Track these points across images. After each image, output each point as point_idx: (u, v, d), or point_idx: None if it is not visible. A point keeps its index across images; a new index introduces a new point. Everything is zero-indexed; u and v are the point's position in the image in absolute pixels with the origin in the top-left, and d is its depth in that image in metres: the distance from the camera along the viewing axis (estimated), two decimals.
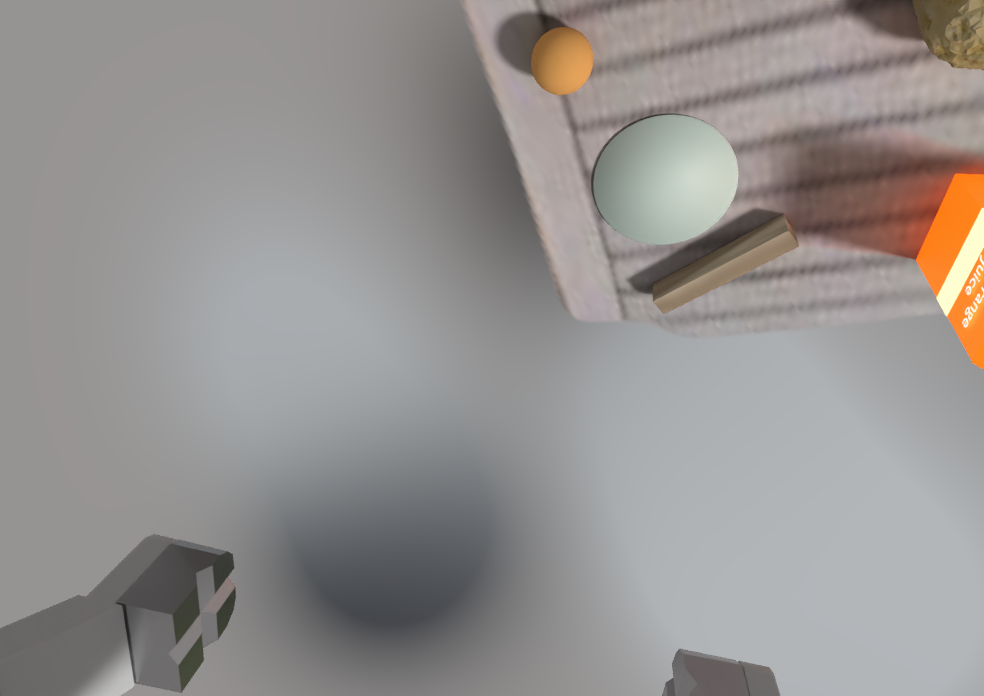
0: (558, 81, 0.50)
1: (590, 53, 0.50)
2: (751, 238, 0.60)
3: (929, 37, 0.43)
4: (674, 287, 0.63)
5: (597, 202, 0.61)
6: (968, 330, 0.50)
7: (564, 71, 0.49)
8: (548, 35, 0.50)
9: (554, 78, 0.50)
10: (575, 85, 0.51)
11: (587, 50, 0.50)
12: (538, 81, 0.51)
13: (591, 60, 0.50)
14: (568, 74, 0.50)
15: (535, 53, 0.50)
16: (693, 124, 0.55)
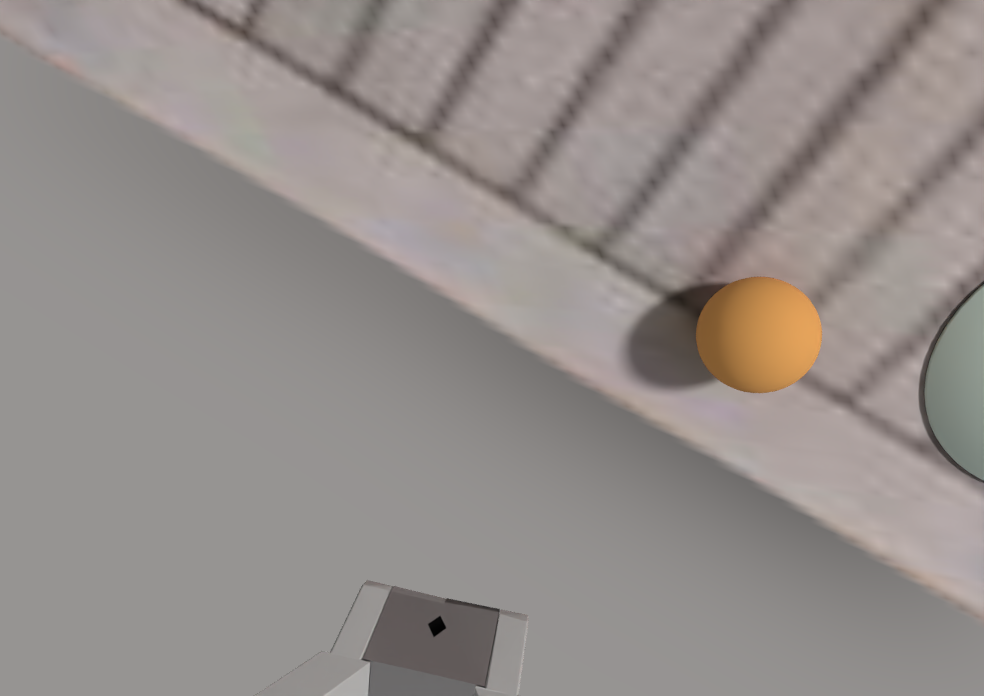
0: (781, 370, 0.25)
1: (796, 292, 0.26)
2: None
3: None
4: None
5: (981, 476, 0.31)
6: None
7: (780, 349, 0.25)
8: (708, 319, 0.27)
9: (770, 371, 0.25)
10: (813, 354, 0.26)
11: (788, 291, 0.26)
12: (744, 390, 0.27)
13: (806, 300, 0.26)
14: (790, 349, 0.25)
15: (709, 356, 0.27)
16: None
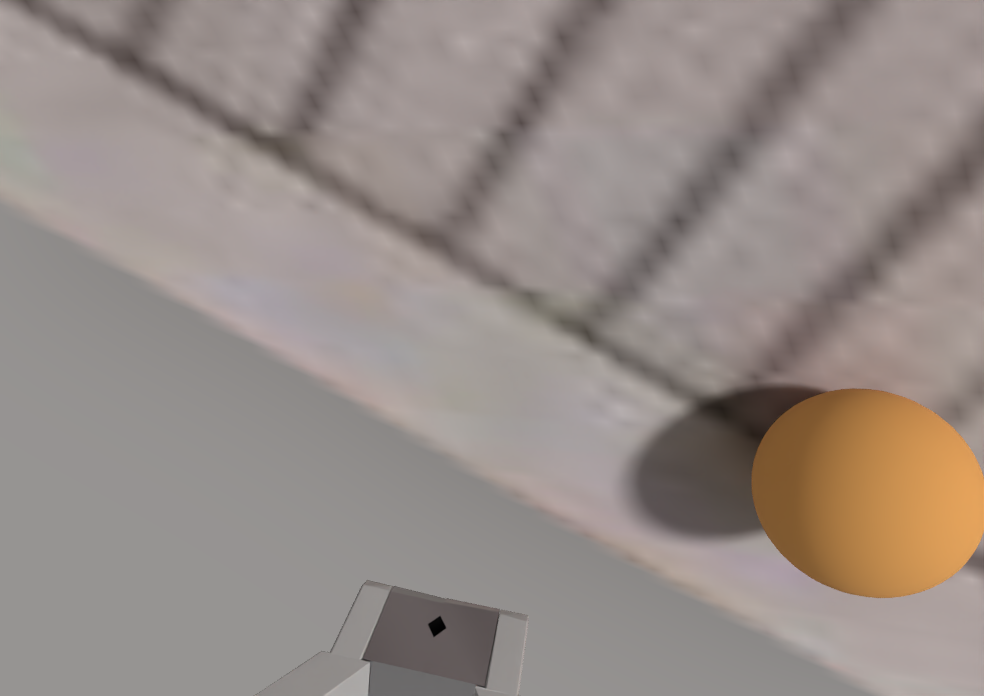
0: (920, 579, 0.14)
1: (944, 429, 0.14)
2: None
3: None
4: None
5: None
6: None
7: (923, 547, 0.13)
8: (778, 469, 0.15)
9: (901, 580, 0.14)
10: (976, 546, 0.14)
11: (932, 431, 0.14)
12: (841, 590, 0.15)
13: (962, 443, 0.14)
14: (941, 546, 0.13)
15: (780, 535, 0.15)
16: None
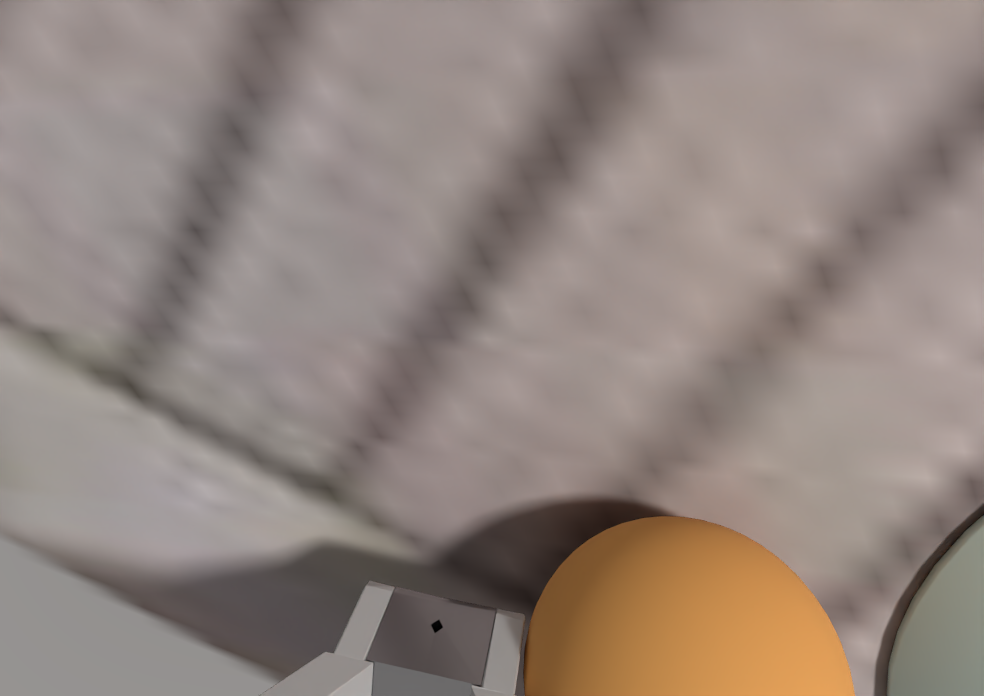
0: None
1: (758, 549, 0.10)
2: None
3: None
4: None
5: None
6: None
7: None
8: None
9: None
10: None
11: (776, 570, 0.09)
12: None
13: (757, 543, 0.10)
14: None
15: None
16: None
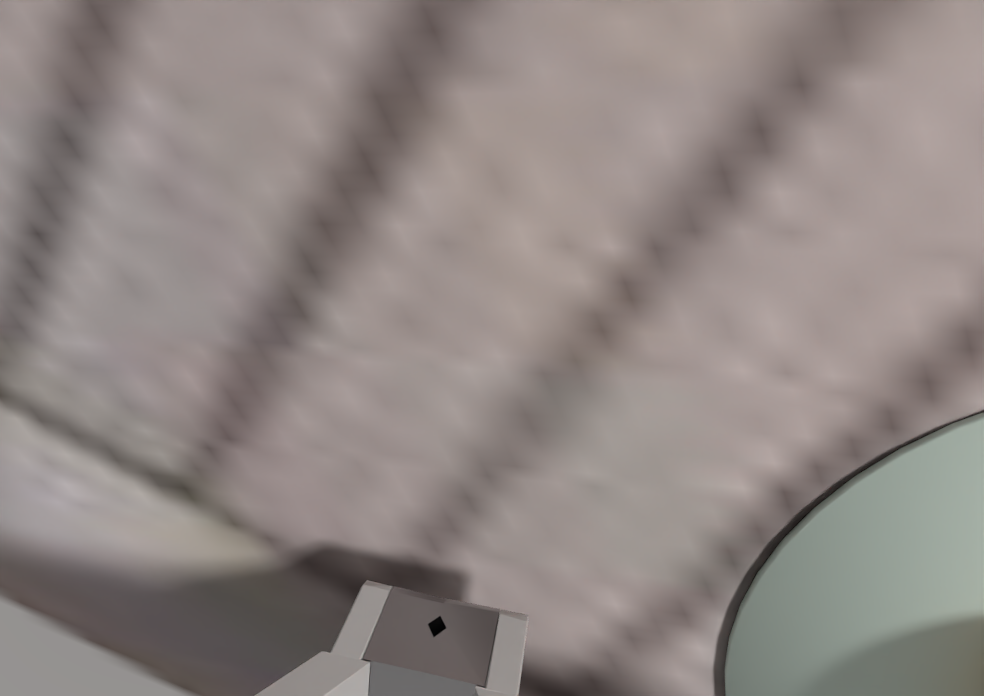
0: None
1: None
2: None
3: None
4: None
5: None
6: None
7: None
8: None
9: None
10: None
11: None
12: None
13: None
14: None
15: None
16: None
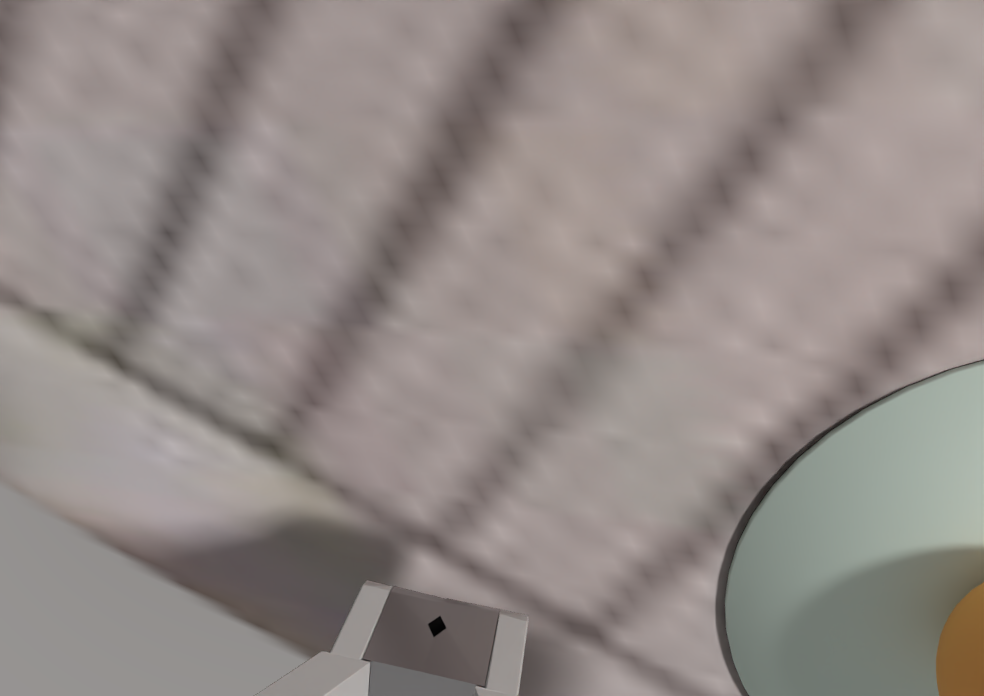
0: None
1: None
2: None
3: None
4: None
5: None
6: None
7: None
8: (956, 621, 0.13)
9: None
10: None
11: None
12: None
13: None
14: None
15: None
16: (974, 392, 0.12)
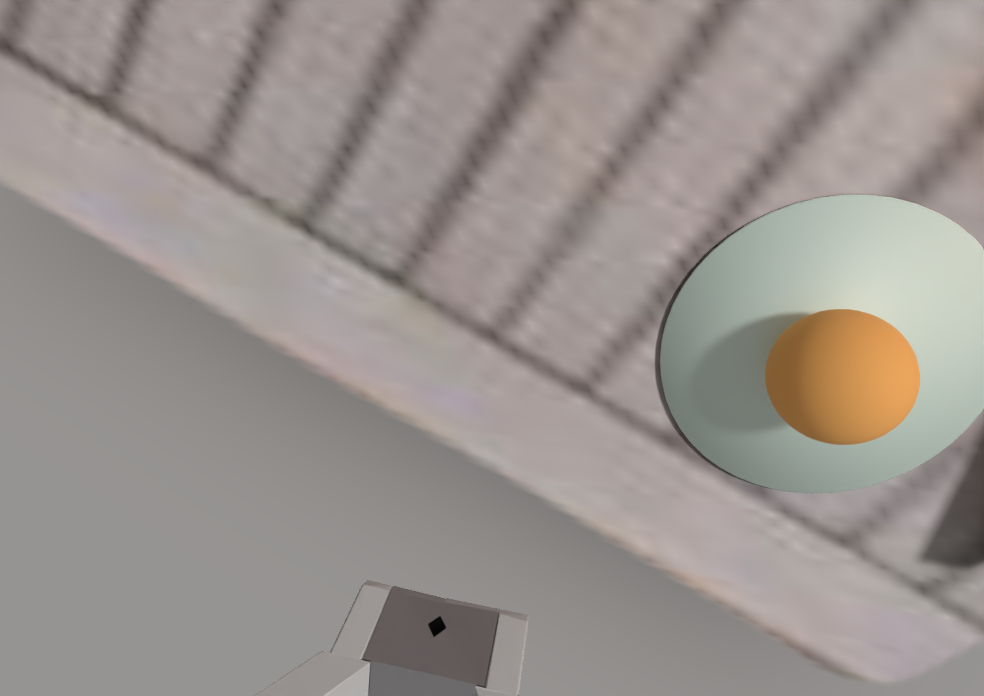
0: (822, 415, 0.22)
1: (875, 331, 0.22)
2: None
3: None
4: None
5: (732, 471, 0.28)
6: None
7: (818, 389, 0.22)
8: (773, 345, 0.24)
9: (810, 412, 0.22)
10: (874, 407, 0.21)
11: (860, 328, 0.22)
12: (801, 433, 0.24)
13: (887, 342, 0.21)
14: (832, 391, 0.21)
15: (766, 386, 0.24)
16: (780, 223, 0.24)
